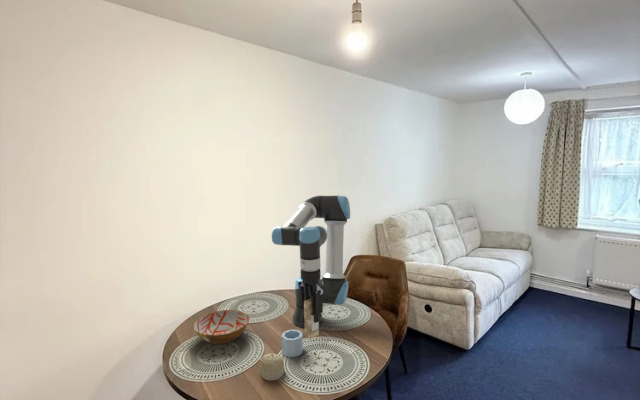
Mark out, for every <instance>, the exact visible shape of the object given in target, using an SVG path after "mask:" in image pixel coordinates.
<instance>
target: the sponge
mask: <svg viewBox="0 0 640 400" xmlns="http://www.w3.org/2000/svg"><path fill="white" fill-rule="evenodd" d="M259 364H260V366H259V369H260V376H261V378H262V379H264V380H266V381H270V382H271V381H277V380H279V379H280V378H282V377H283V375H284V374H285V363H284V359H283V358H282V356H281V355H279V354H276V353H265V354H263V356H262V357H261V359H260V363H259Z"/></svg>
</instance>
